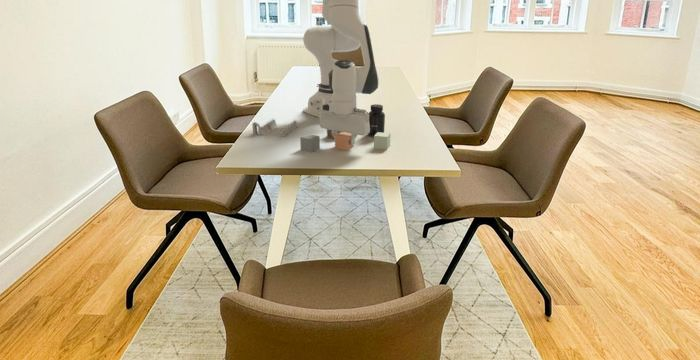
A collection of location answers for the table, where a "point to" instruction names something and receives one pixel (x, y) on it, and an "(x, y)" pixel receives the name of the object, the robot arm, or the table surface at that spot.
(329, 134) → the walnut cube
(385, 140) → the sage cube
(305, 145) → the slate grey cube
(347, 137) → the terracotta cube
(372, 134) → the supplement bottle
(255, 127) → the skate ramp
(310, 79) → the table surface
